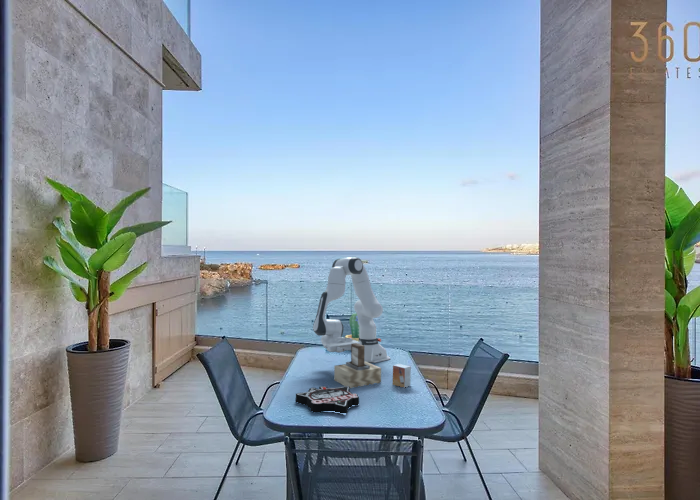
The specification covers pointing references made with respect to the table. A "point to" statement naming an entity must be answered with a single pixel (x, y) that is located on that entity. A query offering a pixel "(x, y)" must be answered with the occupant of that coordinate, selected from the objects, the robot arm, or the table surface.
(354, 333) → the potted cactus
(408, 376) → the small box
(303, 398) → the wall plaque
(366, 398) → the table surface
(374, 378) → the beige rectangular block
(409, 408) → the table surface
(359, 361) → the tall brown block
